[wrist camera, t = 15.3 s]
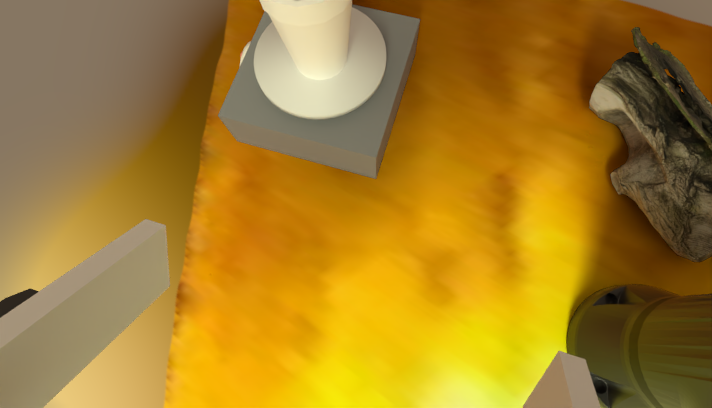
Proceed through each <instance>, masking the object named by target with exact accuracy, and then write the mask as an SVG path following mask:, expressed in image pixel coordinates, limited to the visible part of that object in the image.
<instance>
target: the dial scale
mask: <svg viewBox="0 0 712 408" xmlns="http://www.w3.org/2000/svg"><path fill="white" fill-rule="evenodd" d="M419 24H420V19H418V18H413V17H408V16H404V15H399V14H394V13H390V12H385V11H381V10H376V9H371V8H367V7H362V6H357V5H353V4H352V9H351V20H350V32H349V43H348V54H347V63H346V64H345V66H344V68H343V69H342V71H341V72H340V73H338V74H337V75H335V76H334V77H332V78H330V79H324V80H315V79H311V78H307V77H306V76H305V75H303V74H302V73H301V72H299V70H298V68H297V67H296V65H295V63H294V61H293V59H292V57H291V55H290V54H289V52H288V50H287V48H286V46H285V44H284V42H283V41H282V39H281V37H280V35H279V33H278V31H277V29H276V27H275V26H274V24H273V22H272V20H271V18H270V16H269V14H268V13H267V12H266V11H265V12H264V14H263V16H262V19H261V21H260V23H259V25H258V28H257V30H256V32H255V34H254V37H253V39H252V41H250V42H249V43H248V44H247V45H246V46H245V48H244V50H243V52H241V55H240V56H241V60H240V68H239V70H238V72H237V74H236V77H235V79H234V81H233V83H232V86H231V88H230V90H229V92H228V94H227V97H226V99H225V101H224V103H223V106H222V108H221V110H220V112H219V114H218V116H219V118H220V119H221V120H222V122H223V123H224V124H225V126H226V127H227V128H228V130H229V131H230V132H231V133H232V135H233V136H234V137H235V139H236V140H237V141H239V142H243V143H246V144H250V145H254V146H257V147H261V148H265V149H268V150H272V151H276V152H279V153H283V154H287V155H290V156H294V157H298V158H301V159H305V160H309V161H312V162H316V163H320V164H323V165H327V166H331V167H334V168H338V169H342V170H345V171H349V172H353V173H356V174H360V175H364V176H367V177H371V178H374V179H376V178H377V174H378V171H379V168H380V165H381V162H382V158H383V155H384V152H385V149H386V146H387V142H388V139H389V136H390V133H391V130H392V126H393V123H394V120H395V117H396V114H397V111H398V107H399V104H400V101H401V98H402V95H403V91H404V88H405V85H406V82H407V79H408V75H409V72H410V69H411V66H412V63H413V59H414V56H415V51H416V45H417V38H418V31H419Z"/></svg>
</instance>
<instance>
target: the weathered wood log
mask: <svg viewBox="0 0 712 408" xmlns="http://www.w3.org/2000/svg"><path fill="white" fill-rule="evenodd" d="M631 32H632V33H633V40H634V45H635V47H636V48H637V49H638V50H639V53H638V54H637V53H635V52H629V53H627V54H626V55H625V56H623V57H622V58H621V59H618V60H616V61H615V62H614V63H613V64H612V68H611V69H610V70H609V71H608V72H607V74H605V75H604V76H603V78H602V79H601V80H600V81H599V82H598V83H597V84H596V86H595V88H594V90H593V93H592V95H591V98H590V100H589V104H590V106H589V108H590V109H591V110H592V111H593V112H595V113H596V115H597V116H598V117H599V118H601V119H603V120H606V121H608V122H610V123H613V124H615V125H617V126H618V127H619V128H620V130H621V132H622V134H623V136H624V138H625V141H626V143H627V145H628V147H629V156H628V159H627V161H626V163H625V164H624V165H622V166H620V167H619V168H617V169H615V170H614V171H613V172H612V173H611V174H610V176H611V180H612V184H613V186H614V187H615V189H616V191H617V192H618V194H625V195H627V196H629V197H630V198H631V199H632V200H634V201H635V202H636V203H637V204H638V206H639V208H640V209H641V210H642V211H643V212H644V214H645V215H646V216H647V218H648V220H649V221H650V223H651V224H652V226H653V227H654V228H655V229H656V230H657V231H658V232H659V234H660V235H661V236H662V238H663V239H664V240H665V242H666V243H667V244H668V245H669V246H670V248H671V249H672V250H673V251H674V252H675V253H676V254H677V255H679V256H682V257H684V258H687V259H689V260H691V261H693V262H701V261H703V260H706V259H708V258H710V257H712V105H711V103H710V102H709V101H708V100H707V98H706V97H705V96H704V95H703V94H702V93H701V91H700V90H699V89H698V87H697V86H696V85H695V84H694V81H693V79H692V77H691V75H690V74H689V72H688V71H687V70H686V68H685V67H684V65H683V64H682V63H681V62H680V61H679V60H678V59H677V58H676V57H674V56H673V55H672V54H671V52H669V51H667V50H663V49H660V46H659V45H658V44H657V43H655V42H654V43H653V45H650V44H649V43H648V42H647V40H646V38H645V37H644V36H642V35H641V32H640V27H639V28H638V27H637V28H636V27H635V28H634V29H633V30H632V31H631ZM664 69H668V70H669V73H670V74H671V75H672V76H673V77H674V78H675V79H674V78H672V77H670V76H668V75H667V74H666V72H665V71H664ZM679 85H680V86H681V87H682V89H683V92H684V93H685V94H684V93H683V92H681V87H680V86H679Z"/></svg>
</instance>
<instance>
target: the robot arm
mask: <svg viewBox="0 0 712 408" xmlns="http://www.w3.org/2000/svg"><path fill="white" fill-rule="evenodd" d="M169 286H170V280H169V266H168V251H167V237H166V226H165V225H163V224H160V223H157V222H153V221H150V220H147V219H145V220H144V221H142V222H141V223H139V224H138V225H137V226H135V227H133V228H132V229H130V230H129V231H127V232H126V233H125V234H123V235H122V236H120V237H119V238H117V239H116V240H115V241H113V242H111V243H110V244H108V245H107V246H105V247H104V248H102V249H101V250H100V251H98V252H97V253H95V254H94V255H92V256H91V257H89V258H88V259H86V260H85V261H83V262H82V263H80V264H79V265H78V266H76V267H74V268H73V269H72V270H70V271H69V272H67V273H66V274H64V275H63V276H61V277H60V278H58V279H57V280H55V281H54V282H52V283H51V284H50V285H48V286H47V287H45V288H44V289H42V290H41V291H39V292H38V291H36V290H33V289H28V290H25V291H23V292H20V293H18V294H15V295H13V296H10V297H8V298H5V299H4V300H2V301H1V302H0V408H43V407H44V406H45V405H46V404H47V403H48V402H49V401H50V400H51V399H52V398H53V397H55V396H56V394H58V393H59V392H60V391H61V390H62V389H63V388H64V387H65V386H66V385H67V384H68V383H69V382H70V381H71V380H72V379H73V378H74V377H75V376H76V375H78V374H79V373H80V372H81V371H82V370H83V369H84V368H85V367H86V366H87V365H88V364H89V363H90V362H91V361H92V360H93V359H94V358H95V357H96V356H97V355H98V354H99V353H100V352H102V351H103V350H104V349H105V348H106V347H107V346H108V345H109V344H110V343H111V342H112V341H113V340H114V339H115V338H116V337H117V336H118V335H119V334H120V333H121V332H122V331H124V329H126V327H128V326H129V325H130V324H131V323H132V322H133V321H134V320H135V319H136V318H137V317H138V316H139V315H140V314H141V313H142V312H143V311H144V310H145V309H146V308H148V307H149V306H150V305H151V304H152V303H153V302H154V301H155V300H156V299H157V298H158V297H159V296H160V295H161V294H162V293H163V292H164V291H165V290H166V289H167V288H168V287H169ZM567 352H568V354H567V353H564V352H561V351H558V353H557V354H556V356H555V358H554V359H553V361H552V362H551V364H550V365H549V367H548V368H547V370H546V371H545V373H544V375H543V376H542V378H541V379H540V381H539V382H538V384H537V385H536V387H535V388H534V390H533V392H532V393H531V395H530V396H529V398H528V399H527V401H526V402H525V404H524V405H523V408H712V294H702V295H688V296H680V295H677V294H674V293H671V292H668V291H665V290H662V289H659V288H656V287H652V286H647V285H638V284H629V285H620V286H613V287H609V288H605V289H602V290H600V291H598V292H596V293H594V294H592V295H591V296H589V297H588V298H587V299H586V300H584V301H583V302H582V303H581V305H580V306H579V307H578V308H577V310H576V311H575V313H574V315H573V317H572V319H571V322H570V325H569V329H568V335H567Z"/></svg>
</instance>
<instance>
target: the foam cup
mask: <svg viewBox="0 0 712 408" xmlns="http://www.w3.org/2000/svg"><path fill="white" fill-rule="evenodd" d="M260 3H261V5H262V7H263V9H264V11H266V12H267V13H268V14H269V16H270V18H271V20H272V22H273V24H274V26H275V27H276V29H277V31H278V33H279V35H280V37H281V39H282V41H283V42H284V44H285V46H286V48H287V50H288V52H289V54H290V55H291V57H292V59H293V61H294V63H295V65H296V67H297V68H298V70H299V72H301V73H302V74H303V75H305V76H306V77H307V78H311V79H315V80H324V79H330V78H332V77H334V76H335V75H337V74H338V73H340V72H341V71H342V69H343V68H344V66H345V64H346V63H347V54H348V43H349V32H350V20H351V9H352V0H260Z"/></svg>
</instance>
